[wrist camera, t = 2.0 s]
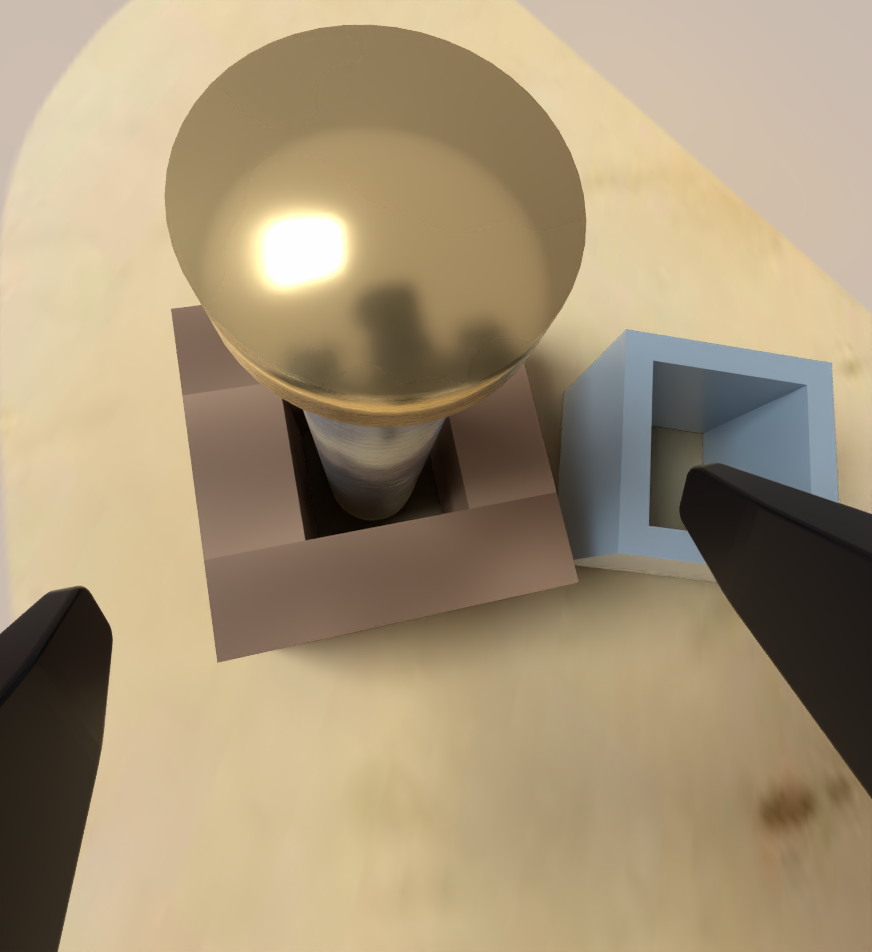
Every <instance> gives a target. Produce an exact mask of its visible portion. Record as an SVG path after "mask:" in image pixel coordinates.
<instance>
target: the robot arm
mask: <svg viewBox="0 0 872 952" xmlns="http://www.w3.org/2000/svg"><path fill="white" fill-rule="evenodd" d="M679 512H680V517H681V520H682V522H683V524H684V526H685V528H686V530H687V531H688V533H689V535H690V536H691V538H692V540H693V542H694V543H695V545H696V547H697V549H698V550H699V552H700V554H701V555H702V557H703V559H704V561H705V562H706V564H707V566H708V568H709V569H710V571H711V573H712V574H713V576H714V578H715V580H716V581H717V583H718V585H719V586H720V588H721V590H722V591H723V593H724V595H725V596H726V598H727V599H728V601H729V602H730V604H731V605H732V607H733V608H734V610H735V611H736V612H737V614H738V615H739V617H740V618H741V619H742V621H743V622H744V623H745V625H746V626H747V628H748V629H749V630H750V632H751V633H752V634H753V636H754V637H755V639H756V640H757V641H758V643H759V644H760V646H761V647H762V648H763V650H764V651H765V652H766V654H767V655H768V657H769V658H770V659H771V661H772V662H773V663H774V665H775V666H776V668H777V669H778V670H779V672H780V673H781V674H782V676H783V677H784V679H785V680H786V681H787V683H788V684H789V685H790V687H791V688H792V690H793V691H794V692H795V694H796V695H797V697H798V698H799V699H800V701H801V702H802V703H803V705H804V706H805V708H806V709H807V710H808V712H809V713H810V714H811V716H812V717H813V719H814V720H815V721H816V723H817V724H818V725H819V727H820V728H821V730H822V731H823V732H824V734H825V735H826V736H827V738H828V739H829V741H830V742H831V743H832V745H833V746H834V748H835V749H836V750H837V752H838V753H839V754H840V756H841V757H842V759H843V760H844V761H845V763H846V764H847V765H848V767H849V768H850V770H851V771H852V772H853V774H854V775H855V776H856V778H857V779H858V781H859V782H860V783H861V785H862V786H863V787H864V789H865V790H866V792H867V793H868V794H869V796H870V797H871V799H872V514H870V513H867V512H864V511H861V510H858V509H855V508H852V507H849V506H846V505H843V504H840V503H837V502H834V501H831V500H828V499H826V498H823V497H820V496H817V495H814V494H811V493H808V492H805V491H802V490H799V489H796V488H793V487H790V486H787V485H784V484H781V483H778V482H775V481H772V480H769V479H766V478H763V477H760V476H757V475H754V474H751V473H748V472H745V471H742V470H739V469H737V468H734V467H731V466H728V465H725V464H722V463H716V462H714V463H708V464H703V465H698V466H694V467H693V468H691V469H690V471H689V472H688V474H687V478H686V482H685V486H684V490H683V494H682V498H681V502H680V507H679ZM112 643H113V638H112V631H111V628H110V625H109V623H108V621H107V620H106V618H105V616H104V615H103V613H102V611H101V609H100V608H99V606H98V604H97V603H96V601H95V599H94V598H93V596H92V594H91V593H90V591H89V590H88V589H87V588H85V587H83V586H74V587H69V588H64V589H59V590H54V591H51V592H49V593H47V594H45V595H44V596H43V597H42V598H41V599H40V600H38V601H37V602H36V603H35V604H34V605H33V606H32V607H30V608H29V609H28V610H27V611H26V612H25V613H23V614H22V615H21V616H20V617H19V618H18V619H17V620H15V621H14V622H13V623H12V624H11V625H10V626H9V627H7V628H6V629H5V630H4V631H3V632H2V633H1V634H0V952H58V948H59V944H60V939H61V935H62V930H63V926H64V921H65V916H66V912H67V907H68V903H69V898H70V894H71V889H72V884H73V880H74V875H75V871H76V866H77V862H78V857H79V852H80V848H81V843H82V839H83V834H84V830H85V825H86V820H87V816H88V811H89V807H90V802H91V798H92V793H93V788H94V784H95V779H96V775H97V770H98V765H99V760H100V755H101V750H102V743H103V735H104V726H105V716H106V705H107V695H108V685H109V674H110V664H111V654H112Z"/></svg>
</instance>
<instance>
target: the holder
mask: <svg viewBox="0 0 872 952" xmlns="http://www.w3.org/2000/svg"><path fill="white" fill-rule="evenodd" d="M651 426H655V427H662V428H669V429H676V430H683V431H689V432H696V433H703V464H708V463H714V462H716V463H722V464H725V465H728V466H731V467H734V468H737V469H739V470H742V471H745V472H748V473H751V474H754V475H757V476H760V477H763V478H766V479H769V480H772V481H775V482H778V483H781V484H784V485H787V486H790V487H793V488H796V489H799V490H802V491H805V492H808V493H811V494H814V495H817V496H820V497H823V498H826V499H828V500H831V501H834V502H837V503H839V499H838V479H837V459H836V439H835V418H834V398H833V378H832V363H829V362H823V361H817V360H811V359H805V358H799V357H792V356H786V355H780V354H774V353H768V352H762V351H756V350H750V349H743V348H737V347H731V346H725V345H719V344H713V343H707V342H701V341H694V340H688V339H682V338H676V337H670V336H664V335H658V334H651V333H645V332H639V331H633V330H627V329H626V330H625V331H624V332H623V333H622V334H621V335H620V336H619V337H618V338H617V339H616V340H615V341H614V342H613V343H612V344H611V345H610V346H609V347H608V348H607V349H606V350H605V351H604V352H603V353H602V354H601V355H600V356H599V357H598V358H597V359H596V360H595V361H594V362H593V364H592V365H591V366H590V367H589V368H588V369H587V370H586V371H585V372H584V373H583V374H582V375H581V376H580V377H579V378H578V379H577V380H576V381H575V382H574V383H573V384H572V385H571V386H570V387H569V388H568V389H567V390H566V391H565V392H564V400H563V416H562V433H561V449H560V465H559V481H558V500H559V504H560V508H561V512H562V516H563V520H564V524H565V528H566V532H567V536H568V540H569V544H570V548H571V552H572V556H573V561H574V565H576V566H584V567H593V568H601V569H609V570H618V571H626V572H635V573H643V574H651V575H660V576H668V577H676V578H685V579H693V580H702V581H710V582H717V581H716V580H715V578H714V576H713V574H712V573H711V571H710V569H709V568H708V566H707V564H706V562H705V561H704V559H703V557H702V555H701V554H700V552H699V550H698V549H697V547H696V545H695V543H694V542H693V540H692V538H691V536H690V535H689V533H688V531H686V530H678V529H670V528H662V527H654V526H649V502H650V462H651Z"/></svg>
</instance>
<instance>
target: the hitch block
mask: <svg viewBox="0 0 872 952" xmlns="http://www.w3.org/2000/svg"><path fill="white" fill-rule="evenodd" d="M171 311H172V319H173V326H174V334H175V342H176V349H177V357H178V365H179V372H180V380H181V387H182V395H183V403H184V410H185V418H186V426H187V433H188V441H189V448H190V456H191V464H192V471H193V479H194V487H195V494H196V502H197V509H198V517H199V525H200V532H201V540H202V548H203V555H204V563H205V570H206V578H207V586H208V593H209V601H210V609H211V616H212V624H213V631H214V639H215V647H216V654H217V662H222V661H227V660H231V659H236V658H240V657H245V656H249V655H254V654H258V653H263V652H267V651H272V650H276V649H281V648H285V647H290V646H294V645H299V644H303V643H308V642H312V641H317V640H321V639H326V638H331V637H335V636H340V635H344V634H349V633H353V632H358V631H362V630H367V629H371V628H376V627H380V626H385V625H389V624H394V623H398V622H403V621H407V620H412V619H416V618H421V617H425V616H430V615H434V614H439V613H443V612H448V611H452V610H457V609H461V608H466V607H470V606H475V605H479V604H484V603H488V602H493V601H497V600H502V599H507V598H511V597H516V596H520V595H525V594H529V593H534V592H538V591H543V590H547V589H552V588H556V587H561V586H565V585H570V584H574V583H579V581H578V577H577V573H576V569H575V565H574V561H573V556H572V552H571V548H570V544H569V540H568V536H567V532H566V528H565V524H564V520H563V516H562V512H561V508H560V504H559V500H558V496H557V492H556V488H555V484H554V480H553V476H552V472H551V468H550V464H549V460H548V456H547V452H546V448H545V444H544V440H543V436H542V432H541V428H540V424H539V420H538V416H537V412H536V408H535V404H534V400H533V396H532V391H531V387H530V383H529V379H528V375H527V371H526V367H525V363H523V364H522V366H521V367H520V368H519V370H518V371H517V372H516V373H515V374H514V375H513V376H512V377H511V378H510V379H509V380H508V381H507V382H506V383H505V384H504V385H503V386H502V387H500V388H499V389H498V390H496V391H495V392H494V393H492V394H491V395H490V396H488V397H487V398H486V399H484V400H482V401H480V402H479V403H477V404H475V405H473V406H471V407H470V408H468V409H466V410H464V411H461V412H459V413H456V414H454V415H451V416H449V417H446V418H445V420H444V422H443V425H442V427H441V429H440V431H439V433H438V436H437V438H436V440H435V442H434V445H433V447H432V449H431V451H430V457H431V462H432V467H433V471H434V476H435V481H436V486H437V490H438V495H439V500H440V505H441V509H442V514H441V515H435V516H430V517H425V518H420V519H415V520H409V521H404V522H399V523H394V524H389V525H383V526H378V527H373V528H368V529H363V530H358V531H352V532H347V533H342V534H337V535H332V536H326V537H321V538H318V536H317V530H316V524H315V518H314V512H313V506H312V500H311V495H310V489H309V483H308V477H307V471H306V465H305V459H304V453H303V447H302V441H301V435H300V430H304V429H310V428H309V425H308V422H307V419H306V417H305V414H304V411H303V409H301V408H298V407H297V406H295V405H293V404H291V403H289V402H288V401H286V400H284V399H282V398H281V397H279V396H277V395H276V394H274V393H273V392H272V391H270V390H269V389H268V388H266V387H265V386H264V385H262V384H261V383H259V382H258V381H257V380H256V379H255V378H254V377H253V376H252V375H251V374H250V373H249V372H248V371H247V370H246V369H245V368H243V367H242V366H241V365H240V364H239V362H238V361H237V360H236V358H235V357H234V356H233V355H232V353H231V352H230V351H229V350H228V348H227V347H226V346H225V344H224V343H223V341H222V339H221V337H220V336H219V334H218V332H217V330H216V329H215V327H214V325H213V324H212V322H211V320H210V318H209V317H208V315H207V313H206V312H205V310H204V308H203V306H202V305H199V306H191V307H183V308H175V309H171Z"/></svg>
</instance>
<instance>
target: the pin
mask: <svg viewBox="0 0 872 952" xmlns="http://www.w3.org/2000/svg"><path fill="white" fill-rule="evenodd" d="M165 207H166V220H167V225H168V229H169V234H170V238H171V242H172V247H173V249H174V252H175V254H176V257H177V259H178V262H179V264H180V267H181V269H182V272H183V274H184V275H185V277H186V279H187V280H188V282H189V284H190V286H191V287H192V289H193V291H194V293H195V294H196V296H197V298H198V299H199V301H200V303H201V305H202V306H203V308H204V310H205V312H206V313H207V315H208V317H209V318H210V320H211V322H212V324H213V325H214V327H215V329H216V330H217V332H218V334H219V336H220V337H221V339H222V341H223V343H224V344H225V346H226V347H227V348H228V350H229V351H230V352H231V353H232V355H233V356H234V357H235V358H236V360H237V361H238V362H239V364H240V365H241V366H242V367H243V368H245V369H246V370H247V371H248V372H249V373H250V374H251V375H252V376H253V377H254V378H255V379H256V380H257V381H258V382H259V383H261V384H262V385H264V386H265V387H266V388H268V389H269V390H270V391H272V392H273V393H274V394H276V395H277V396H279V397H281V398H282V399H284V400H286V401H288V402H289V403H291V404H293V405H295V406H297V407H298V408H301V409H303V411H304V414H305V417H306V419H307V422H308V425H309V428H310V431H311V433H312V436H313V439H314V442H315V445H316V448H317V450H318V453H319V456H320V459H321V462H322V464H323V467H324V470H325V473H326V476H327V479H328V481H329V484H330V487H331V490H332V493H333V495H334V497H335V499H336V501H337V502H338V504H339V505H340V506H341V507H342V508H343V509H344V510H345V511H346V512H348V513H349V514H351V515H353V516H355V517H357V518H360V519H364V520H380V519H384V518H387V517H389V516H392V515H393V514H395V513H397V512H398V511H399V510H400V509H401V508H402V507H403V506H404V505H405V504H406V502H407V501H408V499H409V497H410V495H411V493H412V491H413V489H414V487H415V484H416V482H417V480H418V478H419V475H420V473H421V471H422V469H423V467H424V464H425V462H426V460H427V458H428V456H429V453H430V451H431V449H432V447H433V445H434V442H435V440H436V438H437V436H438V433H439V431H440V429H441V427H442V425H443V422H444V420H445V418H446V417H449V416H451V415H454V414H456V413H459V412H461V411H464V410H466V409H468V408H470V407H471V406H473V405H475V404H477V403H479V402H480V401H482V400H484V399H486V398H487V397H488V396H490V395H491V394H492V393H494V392H495V391H496V390H498V389H499V388H500V387H502V386H503V385H504V384H505V383H506V382H507V381H508V380H509V379H510V378H511V377H512V376H513V375H514V374H515V373H516V372H517V371H518V370H519V368H520V367H521V366H522V364H523V363H524V362H525V360H526V359H527V358H528V356H529V355H530V354H531V352H532V351H533V349H534V348H535V347H536V345H537V344H538V342H539V341H540V339H541V338H542V336H543V335H544V333H545V332H546V331H547V329H548V328H549V326H550V325H551V323H552V322H553V320H554V319H555V317H556V316H557V315H558V313H559V312H560V310H561V309H562V307H563V305H564V303H565V301H566V299H567V297H568V296H569V294H570V292H571V290H572V288H573V285H574V283H575V280H576V277H577V274H578V271H579V269H580V266H581V261H582V256H583V251H584V246H585V233H586V213H585V202H584V195H583V190H582V186H581V182H580V177H579V174H578V171H577V168H576V166H575V163H574V160H573V158H572V155H571V152H570V151H569V149H568V147H567V145H566V143H565V141H564V139H563V137H562V136H561V134H560V132H559V130H558V129H557V127H556V126H555V125H554V123H553V122H552V120H551V119H550V117H549V116H548V115H547V113H546V112H545V111H544V109H543V108H542V107H541V106H540V105H539V104H538V103H537V102H536V100H535V99H534V98H533V97H532V96H531V95H530V94H529V93H528V92H527V91H526V90H525V89H524V88H523V87H521V86H520V85H519V84H518V83H517V82H516V81H515V80H514V79H512V78H511V77H510V76H509V75H507V74H506V73H504V72H503V71H502V70H500V69H499V68H497V67H496V66H495V65H493V64H492V63H490V62H489V61H487V60H485V59H483V58H482V57H480V56H478V55H476V54H474V53H473V52H471V51H469V50H467V49H465V48H462V47H460V46H458V45H455V44H453V43H451V42H449V41H446V40H443V39H440V38H437V37H434V36H431V35H428V34H424V33H421V32H416V31H411V30H406V29H402V28H397V27H387V26H377V25H342V26H334V27H325V28H318V29H314V30H310V31H305V32H301V33H297V34H294V35H291V36H288V37H285V38H283V39H280V40H277V41H274V42H271V43H270V44H268V45H266V46H264V47H262V48H260V49H258V50H256V51H254V52H252V53H250V54H248V55H247V56H245V57H244V58H242V59H241V60H239V61H238V62H237V63H235V64H234V65H232V66H231V67H229V68H228V69H227V70H226V71H225V72H224V73H222V74H221V75H220V76H219V77H218V78H217V79H216V80H215V81H214V82H212V83H211V84H210V85H209V87H208V88H207V89H206V90H205V91H204V93H203V94H202V95H201V96H200V97H199V99H198V100H197V101H196V102H195V104H194V105H193V107H192V108H191V110H190V112H189V113H188V115H187V117H186V118H185V120H184V122H183V123H182V125H181V128H180V130H179V133H178V135H177V137H176V140H175V142H174V145H173V147H172V151H171V155H170V159H169V164H168V168H167V174H166V186H165Z"/></svg>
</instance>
